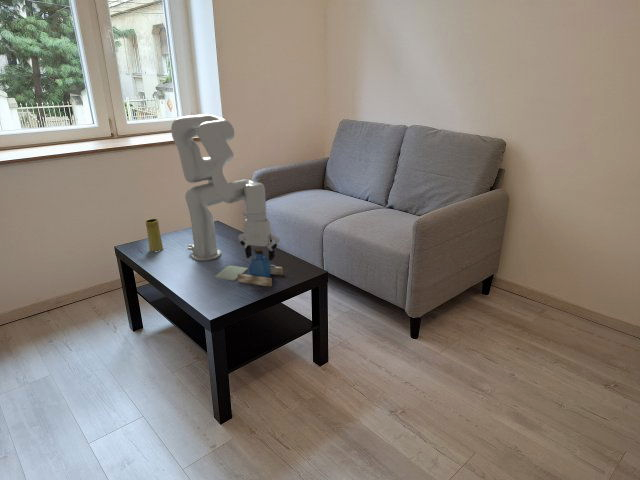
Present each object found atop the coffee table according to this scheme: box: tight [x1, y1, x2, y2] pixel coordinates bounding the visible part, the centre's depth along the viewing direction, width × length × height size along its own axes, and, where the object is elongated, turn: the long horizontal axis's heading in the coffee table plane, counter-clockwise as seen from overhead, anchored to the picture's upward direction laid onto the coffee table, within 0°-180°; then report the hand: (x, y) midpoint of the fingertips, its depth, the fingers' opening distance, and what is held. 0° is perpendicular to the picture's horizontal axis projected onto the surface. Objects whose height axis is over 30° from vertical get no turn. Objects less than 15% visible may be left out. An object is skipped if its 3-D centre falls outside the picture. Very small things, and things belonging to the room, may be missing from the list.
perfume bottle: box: [249, 248, 272, 278], centre depth 173 cm, size 6×6×12 cm
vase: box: [145, 218, 164, 252], centre depth 201 cm, size 6×6×14 cm
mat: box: [214, 265, 249, 282], centre depth 179 cm, size 9×11×1 cm
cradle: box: [237, 262, 284, 287], centre depth 174 cm, size 14×11×4 cm
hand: (260, 258), depth 171 cm, fingers open, 9 cm apart
